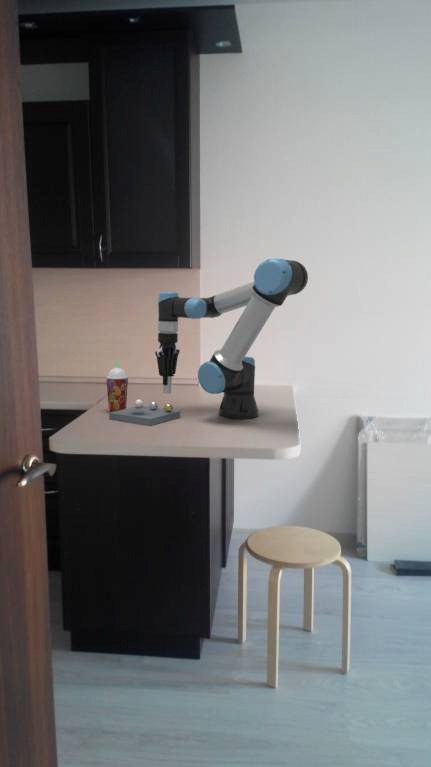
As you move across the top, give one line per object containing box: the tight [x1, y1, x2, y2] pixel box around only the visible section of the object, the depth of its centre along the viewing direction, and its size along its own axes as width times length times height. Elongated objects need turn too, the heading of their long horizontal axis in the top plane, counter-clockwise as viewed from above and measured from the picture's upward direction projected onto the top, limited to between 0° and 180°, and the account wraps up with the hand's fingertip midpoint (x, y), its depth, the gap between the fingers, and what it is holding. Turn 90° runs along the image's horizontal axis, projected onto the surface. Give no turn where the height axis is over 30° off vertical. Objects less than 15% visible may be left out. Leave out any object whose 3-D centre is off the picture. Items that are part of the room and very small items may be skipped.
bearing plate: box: [108, 405, 181, 427], centre depth 218 cm, size 19×18×2 cm
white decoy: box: [134, 399, 144, 408], centre depth 225 cm, size 3×3×3 cm
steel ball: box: [148, 400, 159, 410], centre depth 222 cm, size 3×3×3 cm
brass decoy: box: [163, 403, 174, 412], centre depth 218 cm, size 3×3×3 cm
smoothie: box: [105, 360, 129, 413], centre depth 229 cm, size 8×8×20 cm
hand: (166, 393), depth 229 cm, fingers closed
